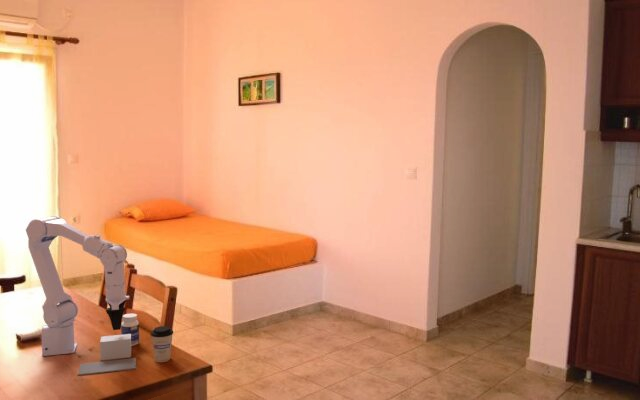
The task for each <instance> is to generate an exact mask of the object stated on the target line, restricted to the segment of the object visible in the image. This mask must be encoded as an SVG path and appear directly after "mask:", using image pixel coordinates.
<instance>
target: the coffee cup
mask: <svg viewBox="0 0 640 400" xmlns="http://www.w3.org/2000/svg"><path fill="white" fill-rule="evenodd" d="M173 335H174V330H173V329H171V328H170V327H169V326H165V325H161V326H157V327H155V328H154V329H153V330H152V331H150V336H151V343H152V349H153V357H154V362H156V363H165V362H168V361H170V359H171V352H172V342H173Z"/></svg>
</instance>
